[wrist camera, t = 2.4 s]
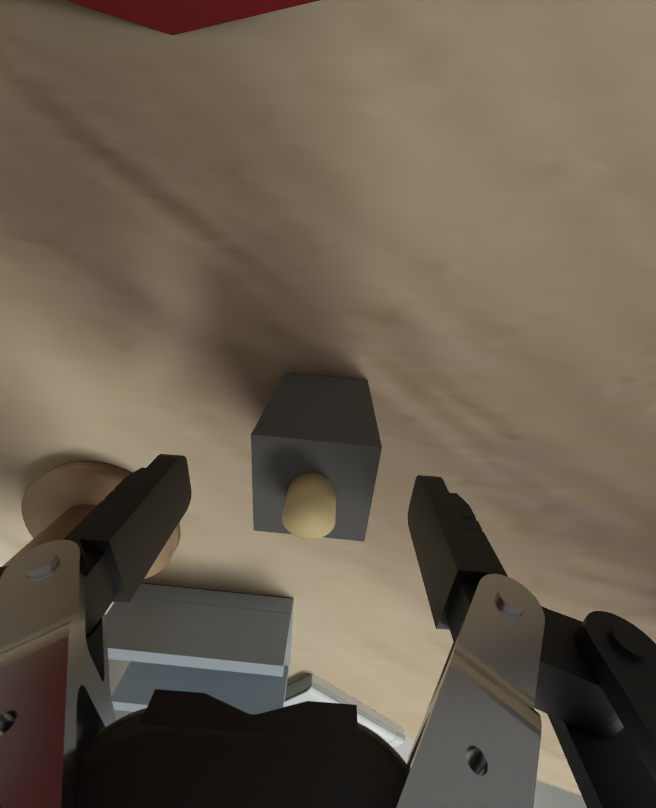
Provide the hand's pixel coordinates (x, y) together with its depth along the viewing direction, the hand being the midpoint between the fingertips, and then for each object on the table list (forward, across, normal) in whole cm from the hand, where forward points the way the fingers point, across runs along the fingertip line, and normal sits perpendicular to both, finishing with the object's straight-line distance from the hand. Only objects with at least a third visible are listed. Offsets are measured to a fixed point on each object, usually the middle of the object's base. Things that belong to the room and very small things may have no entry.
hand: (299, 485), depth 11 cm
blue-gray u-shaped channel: (+6, +7, +19) cm, 21 cm away
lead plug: (+6, -1, 0) cm, 6 cm away
